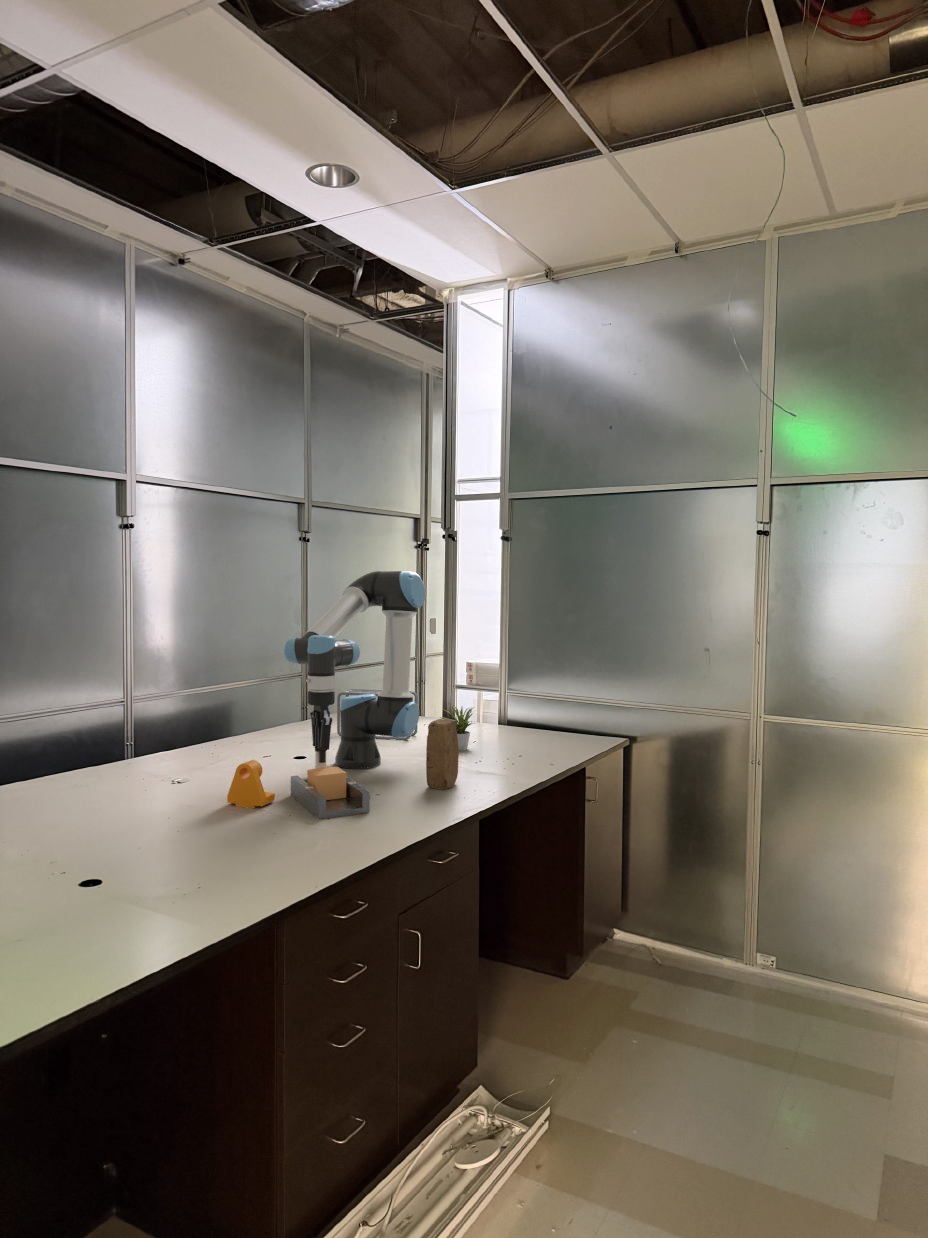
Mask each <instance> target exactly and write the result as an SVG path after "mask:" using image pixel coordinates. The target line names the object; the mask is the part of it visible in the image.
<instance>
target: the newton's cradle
mask: <svg viewBox="0 0 928 1238" xmlns="http://www.w3.org/2000/svg"><path fill="white" fill-rule="evenodd" d="M381 691H382V689H369V688H368V689H364V688H363V689H362V688H349V689H347V691H341V692H338V694H337V698H336V699H337V700H336V708H337V711H336V714H337V715H336V716H337V717H336V721H337V723H336V725H337V727H336V730H337V732H336V733H337V735H338V736H340V737H341V712H340V709H341V696H344V695H345V697H349V696H356V695H364V694H375V695H376V697H378V694H379V693H380V692H381ZM409 692H410V693H411V694H412V695H413V697H414V702H415V703H416V704H417V705H418V704H419V703H418V702H419V701H418V699H419V698H418V693H416V692H415V691H413V690H411V691H410V690H409ZM418 706H419V705H418ZM417 734H418V725H417V726H416V728H415V730H414V732H413V733H412V734H411V735H410V736H408V737H396V738H395V737H392V736H382V735H376V740H390V739H396V740H395V741H408V740H409V739H410V738H411V737H414V736H415V735H417Z"/></svg>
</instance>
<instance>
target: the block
mask: <svg viewBox="0 0 928 1238" xmlns="http://www.w3.org/2000/svg"><path fill="white" fill-rule="evenodd" d="M427 730H428V732H427V735H426V759H425V761H426V763H425V765H426V766H425V770H426V773H425V775H426V785H427V787H429V788H430V789H431V788H432V789H435V790H446V789H448V790H449V789H451V788H453V787H454V786H455V784H456V782H457V780H458V776H459V775H458V774H459V751H458V736H457V732H456V723H455V720H454V719H451V718H448V719H442V718H438V719H435V720H433V721H431V722H430V723H428V726H427Z"/></svg>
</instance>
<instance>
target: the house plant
mask: <svg viewBox="0 0 928 1238" xmlns="http://www.w3.org/2000/svg"><path fill="white" fill-rule="evenodd" d="M451 708H452V709H453V711H454V713H455V715H454V713H452V712H450V711H449V710H446V709H445V712H446V713H448V714H449V715H450V716H451V717H452V718H453V720H454V721H455V723H456V732H457V736H458V752H460V751H467V750H468V748H469V742H470V735H471V732H470V731H468V730H467V728H468V727H469V726H471V725H473V724H475V725H476V724H477V723H475V722H472V721H470V718H471V717H472V715H473V714H474V713H475V711H473V710H474V708H476V707H475V706H473V707H468V708H466V709H465V711H464V710H463V709H464V708H463V706H461V709H460V710H459V709H458V708H457V707H456V706H455V705H454V706H453V707H451ZM441 710H442V711H443V710H444V709H441ZM463 712H464V713H463ZM439 719H449V718H448V717H442V716H439Z"/></svg>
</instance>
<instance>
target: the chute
mask: <svg viewBox="0 0 928 1238" xmlns="http://www.w3.org/2000/svg"><path fill="white" fill-rule="evenodd" d="M370 795H371V793H370V791H368V789H366V788H364V787H362V786H361V785H360V784H357V782H356V781H354V780H352V779H350V778H348V777H347V776H346V798H339V799H331V800H326V797H325V796H324V795H322V794H321V793H320V792H318V791H317V790H316V789H315V788H314V787H313V786H311V785H309V784H308V783H307V777H304V778H301V777H300V776H299V775H291V776H290V796H291V797H292V796H293V797H294V798H293V797H292V798H293V799H295V800H296V801H297V802H298V803H299V804H300V805H301V806H302V807H304V809H306V810H307V811H308V812H310V814H312V815H313V816H314V817H315V816H316V817H315V818H316V819H318V820H325V819H330V818H331V817H332V818H339V816H340V817H344V816H345V817H346V815H347V816H353V814H355V815H361V813H363V814H369V812H370V811H371V810H370V807H371V806H370V805H371V804H370V802H371V801H370Z"/></svg>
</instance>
